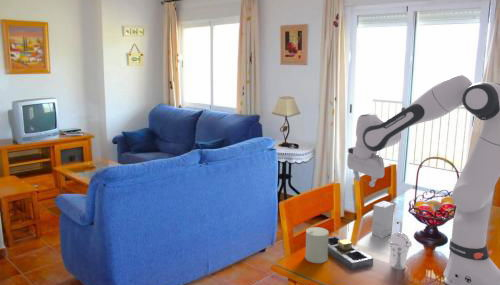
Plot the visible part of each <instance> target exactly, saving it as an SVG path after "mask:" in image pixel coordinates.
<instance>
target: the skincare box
mask: <svg viewBox="0 0 500 285" xmlns="http://www.w3.org/2000/svg"><path fill="white" fill-rule="evenodd" d="M394 210H395V203H392V202H389V201H386V200H382V201H380V202H377V203H375V204H373V210H372V211H373V212H372V224H371V235H373V236H375V237H378V238H381V239H384V238H385V237H387V236H389V235H391V234H392V235H393V225H394V224H393V223H394Z"/></svg>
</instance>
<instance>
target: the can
mask: <svg viewBox="0 0 500 285" xmlns="http://www.w3.org/2000/svg"><path fill="white" fill-rule="evenodd" d="M329 234H330V233H329V230H328V229H326V228H324V227H319V226H313V227H308V228H306V230H305V256H304V258H305V261H308V262H310V263H311V264H323V263H326V262H328V260H329V257H328V256H329V253H328V237H329V236H330V235H329Z"/></svg>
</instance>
